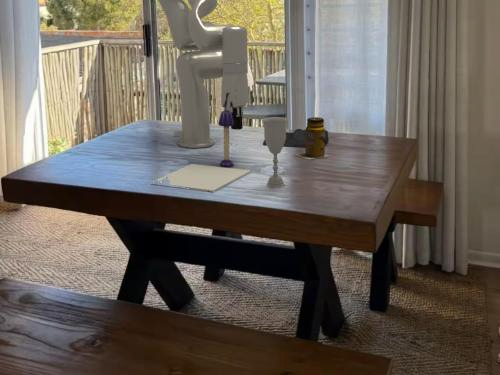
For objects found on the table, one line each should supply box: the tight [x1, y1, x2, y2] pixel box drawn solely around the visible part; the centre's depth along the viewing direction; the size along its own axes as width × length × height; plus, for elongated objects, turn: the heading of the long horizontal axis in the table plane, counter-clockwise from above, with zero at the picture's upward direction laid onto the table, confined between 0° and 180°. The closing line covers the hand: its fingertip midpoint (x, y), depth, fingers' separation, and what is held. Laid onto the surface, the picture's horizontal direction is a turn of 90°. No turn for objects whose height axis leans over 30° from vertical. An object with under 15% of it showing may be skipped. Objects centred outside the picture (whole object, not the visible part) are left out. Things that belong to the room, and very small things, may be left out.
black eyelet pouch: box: [262, 128, 329, 149], centre depth 233 cm, size 15×22×5 cm
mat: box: [153, 163, 252, 193], centre depth 190 cm, size 20×22×1 cm
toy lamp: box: [217, 110, 234, 168], centre depth 201 cm, size 5×5×17 cm
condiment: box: [296, 116, 331, 160], centre depth 212 cm, size 7×8×12 cm
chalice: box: [261, 116, 289, 189], centre depth 180 cm, size 7×7×18 cm
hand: (236, 128), depth 206 cm, fingers closed
